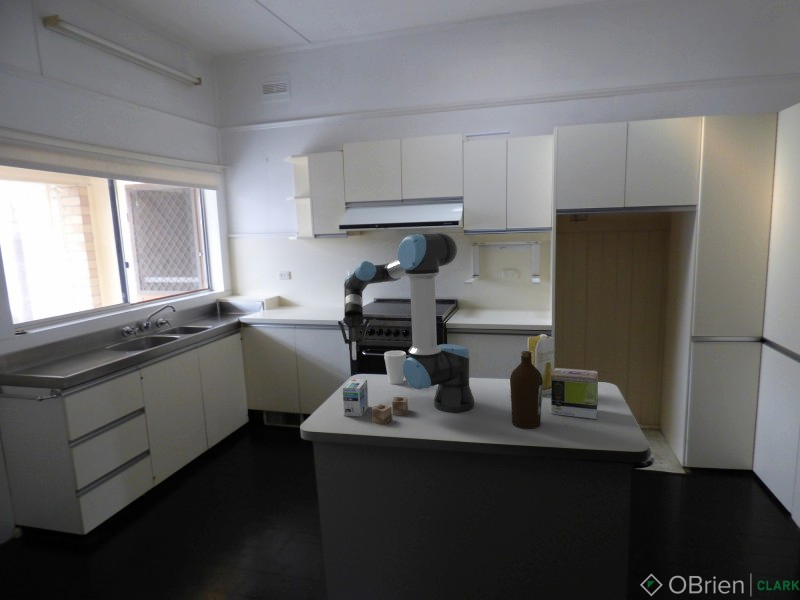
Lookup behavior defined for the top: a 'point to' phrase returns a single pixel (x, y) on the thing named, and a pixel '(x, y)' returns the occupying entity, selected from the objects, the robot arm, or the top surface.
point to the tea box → (574, 392)
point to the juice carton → (542, 358)
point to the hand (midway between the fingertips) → (354, 358)
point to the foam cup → (395, 366)
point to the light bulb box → (355, 397)
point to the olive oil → (526, 393)
